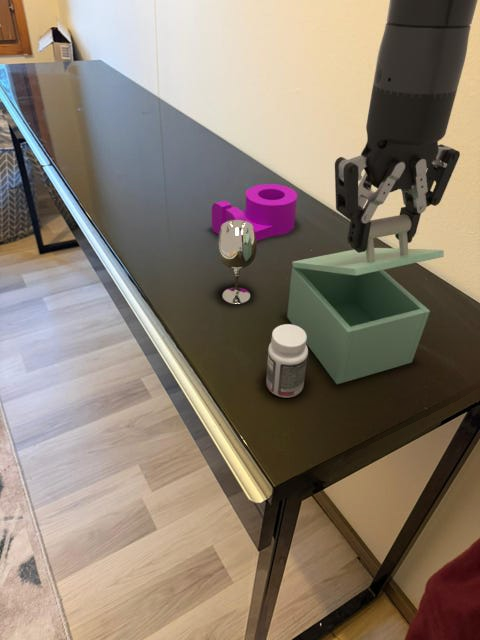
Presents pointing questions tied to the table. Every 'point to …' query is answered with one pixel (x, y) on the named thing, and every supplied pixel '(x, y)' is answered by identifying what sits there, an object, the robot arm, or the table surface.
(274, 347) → the pill bottle
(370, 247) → the bin lid
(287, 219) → the tape dispenser
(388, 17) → the robot arm
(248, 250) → the wineglass
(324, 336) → the bin
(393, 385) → the table surface
